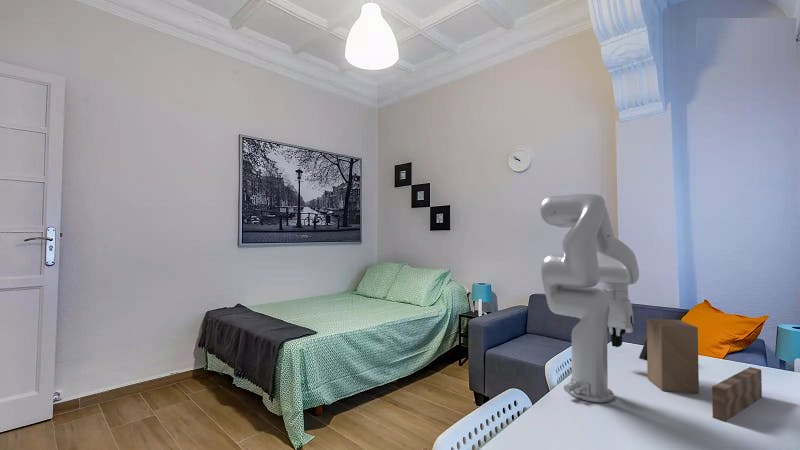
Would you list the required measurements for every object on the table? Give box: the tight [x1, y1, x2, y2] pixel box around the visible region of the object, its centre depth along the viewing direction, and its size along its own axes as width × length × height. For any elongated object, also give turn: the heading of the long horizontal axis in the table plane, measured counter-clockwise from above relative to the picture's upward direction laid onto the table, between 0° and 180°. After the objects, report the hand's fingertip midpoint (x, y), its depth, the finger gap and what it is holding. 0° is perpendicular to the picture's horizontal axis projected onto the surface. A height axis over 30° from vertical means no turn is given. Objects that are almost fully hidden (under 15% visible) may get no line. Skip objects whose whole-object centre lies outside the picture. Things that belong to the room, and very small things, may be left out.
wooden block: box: [646, 317, 700, 394], centre depth 114 cm, size 10×10×20 cm
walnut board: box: [711, 366, 763, 422], centre depth 101 cm, size 28×2×8 cm, turn 121°
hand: (616, 345), depth 129 cm, fingers closed
